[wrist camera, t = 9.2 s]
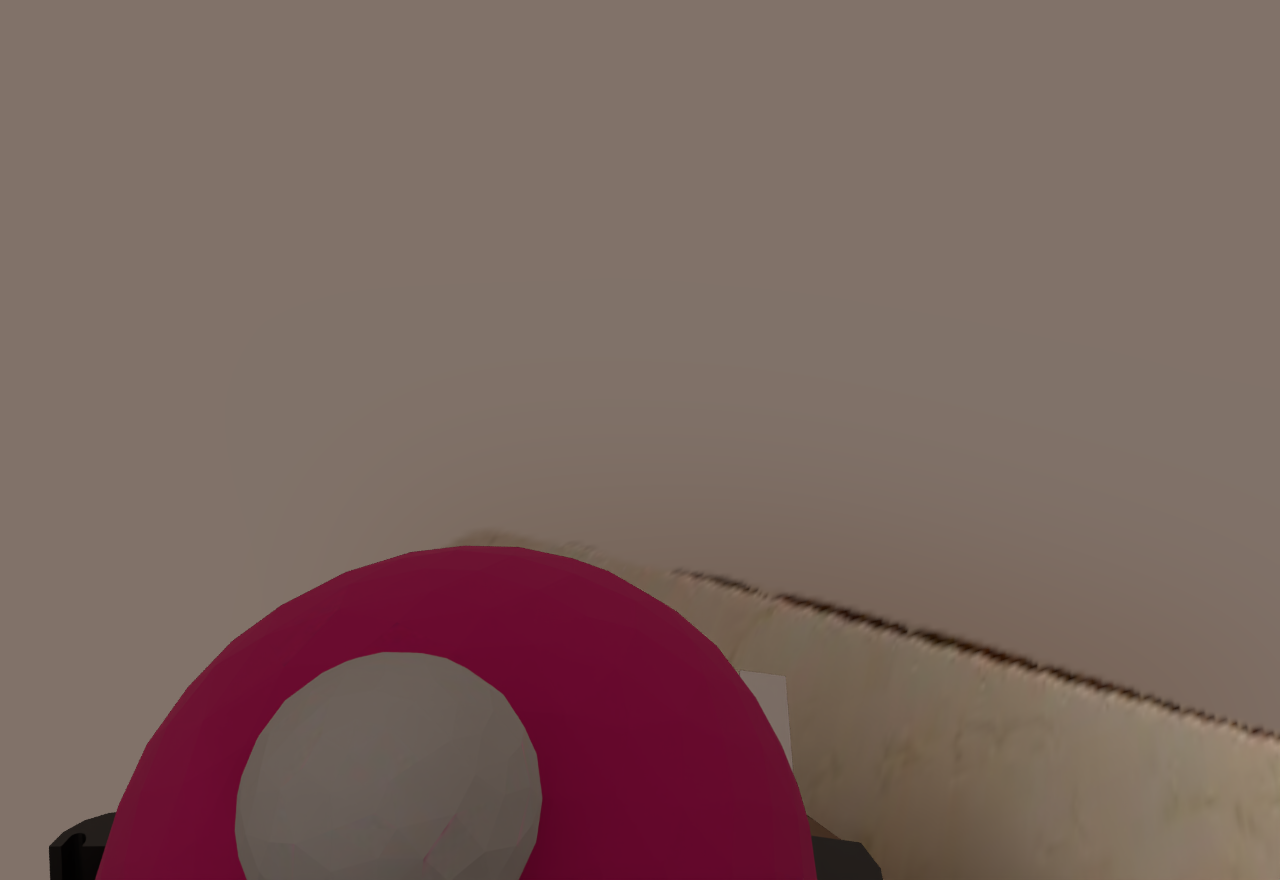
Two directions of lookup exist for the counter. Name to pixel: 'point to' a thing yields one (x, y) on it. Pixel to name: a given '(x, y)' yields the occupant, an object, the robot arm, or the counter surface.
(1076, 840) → the counter surface
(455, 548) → the pepper mill
